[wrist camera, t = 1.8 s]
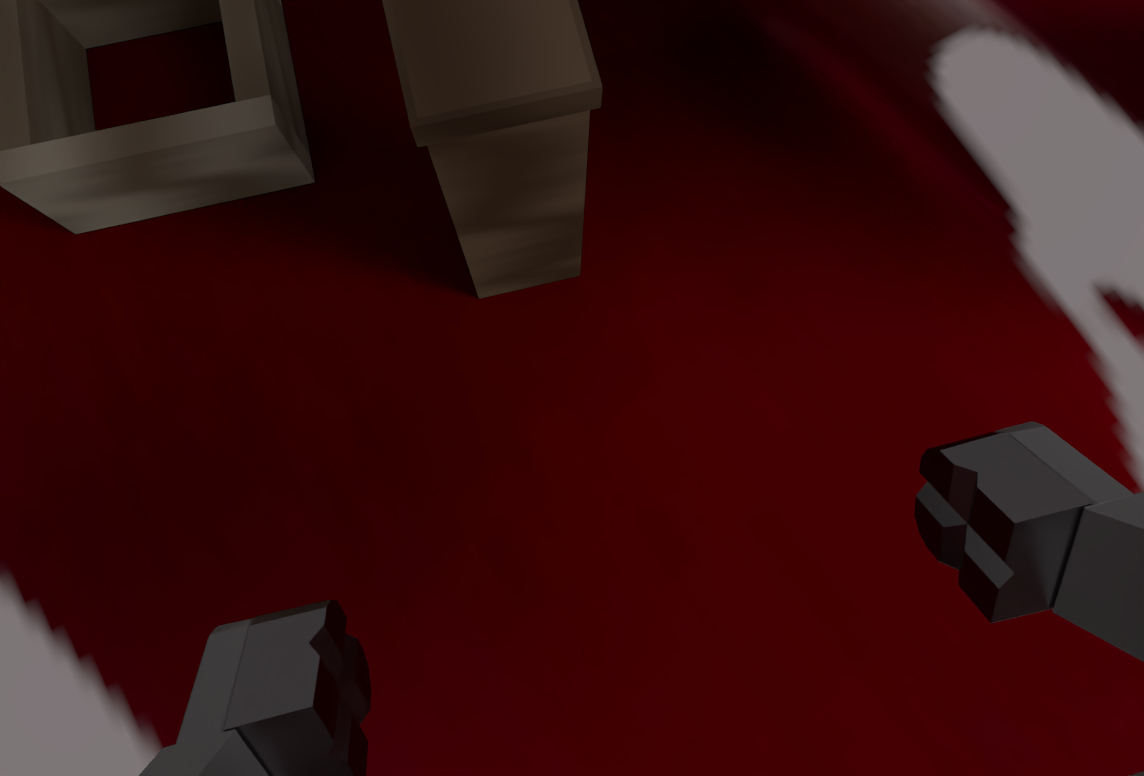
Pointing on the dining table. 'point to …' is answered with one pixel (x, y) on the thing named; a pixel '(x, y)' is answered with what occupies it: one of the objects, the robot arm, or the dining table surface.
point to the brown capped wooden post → (503, 127)
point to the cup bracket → (149, 148)
